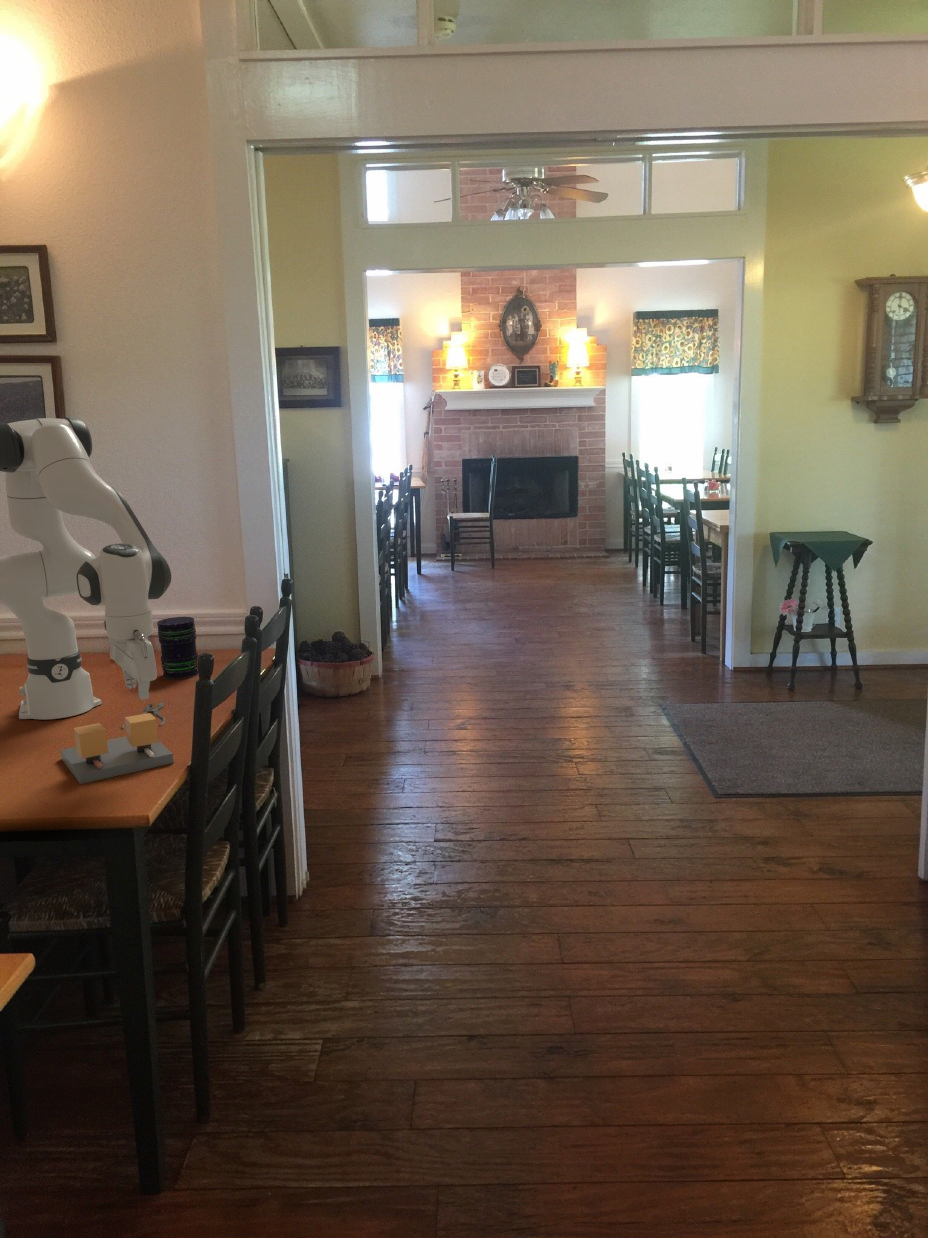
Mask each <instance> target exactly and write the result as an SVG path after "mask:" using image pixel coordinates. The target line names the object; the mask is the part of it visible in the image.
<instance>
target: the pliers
mask: <svg viewBox="0 0 928 1238" xmlns="http://www.w3.org/2000/svg"><path fill="white" fill-rule="evenodd" d="M164 704H165V703H164V701H163V700H162V701H161V702H160V703H158V704H157V705H156V706H154V707H153V701H151V702H149V703H148V704H147V705H146V706H145V708H144V711H143V712H142V713H140V714H139V715H141V714H147V713H150V714H152V713H153V716H154V717H157V718H159V719H161V721H162V722H161V723H160V724H159V725H158V726H160V727H163V726H164V725H165V723H166V721H167V720H166V717H165V716H164V715H162V714H161V713H160V711H161V710H162V709H164V707H165V705H164ZM125 725H126V724H125V722H124V723H123V724H122V725H121V730H124V729H125V728H126V726H125Z"/></svg>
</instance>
